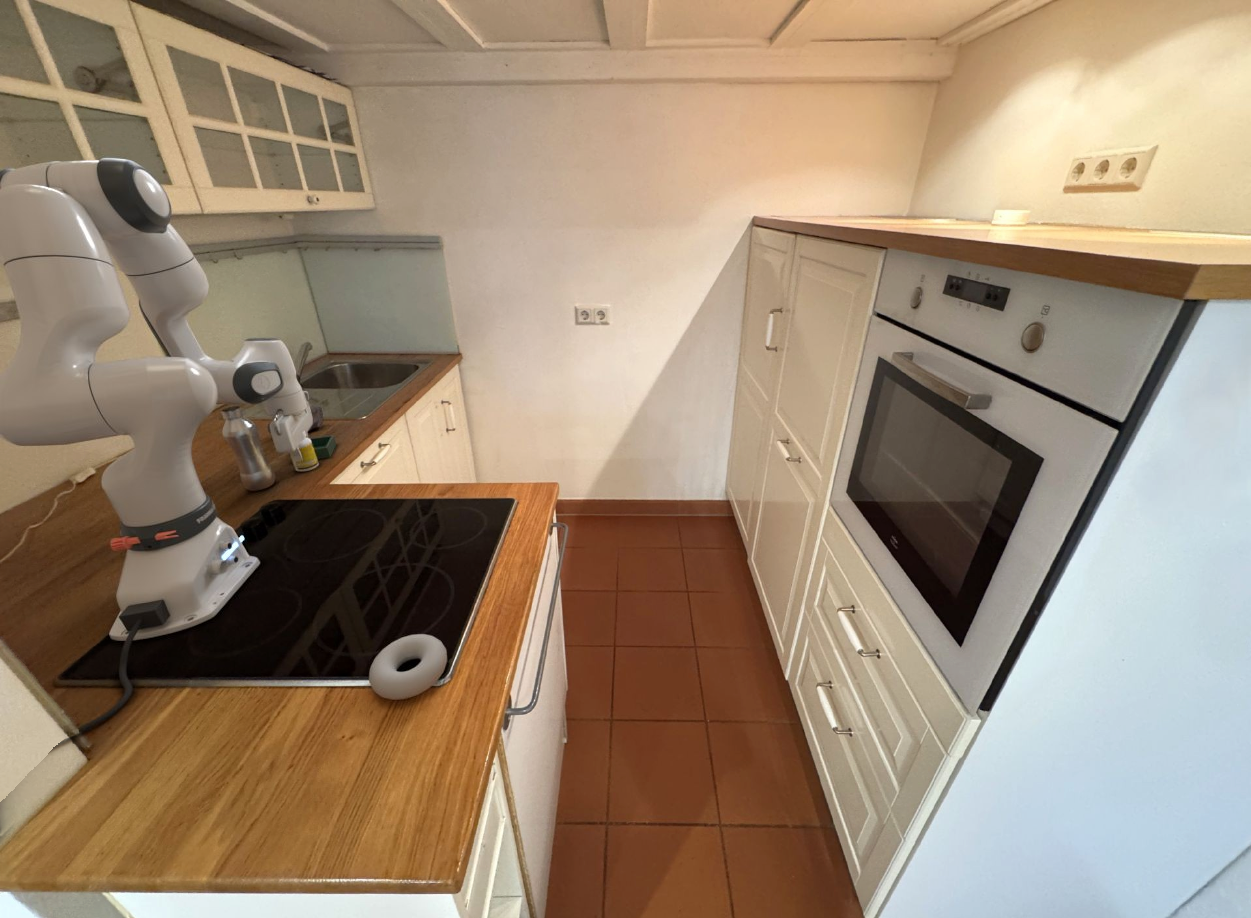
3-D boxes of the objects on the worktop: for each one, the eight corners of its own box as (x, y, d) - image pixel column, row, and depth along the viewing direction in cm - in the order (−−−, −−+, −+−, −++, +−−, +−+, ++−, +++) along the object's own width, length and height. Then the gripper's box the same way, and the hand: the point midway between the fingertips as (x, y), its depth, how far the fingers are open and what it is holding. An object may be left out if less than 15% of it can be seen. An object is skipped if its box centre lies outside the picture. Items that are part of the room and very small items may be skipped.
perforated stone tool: (272, 442, 145) (263, 419, 142) (270, 436, 149) (262, 414, 146) (329, 428, 153) (322, 407, 150) (326, 424, 157) (319, 403, 154)
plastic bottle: (239, 490, 119) (206, 411, 110) (269, 478, 124) (239, 402, 115) (255, 496, 116) (221, 416, 107) (284, 483, 121) (254, 406, 112)
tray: (330, 457, 134) (326, 447, 133) (292, 463, 132) (288, 452, 130) (336, 444, 142) (333, 435, 140) (301, 449, 139) (297, 439, 138)
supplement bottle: (324, 465, 130) (312, 430, 126) (304, 473, 126) (291, 438, 121) (310, 461, 132) (299, 427, 128) (290, 470, 128) (277, 435, 124)
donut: (393, 720, 63) (463, 669, 69) (386, 702, 61) (458, 652, 68) (360, 678, 69) (427, 635, 75) (353, 660, 67) (422, 617, 74)
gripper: (287, 416, 113) (306, 470, 119) (309, 390, 131) (324, 438, 137) (256, 420, 112) (277, 474, 118) (282, 393, 129) (299, 441, 135)
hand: (302, 454), depth 127 cm, fingers closed on supplement bottle, 5 cm apart
